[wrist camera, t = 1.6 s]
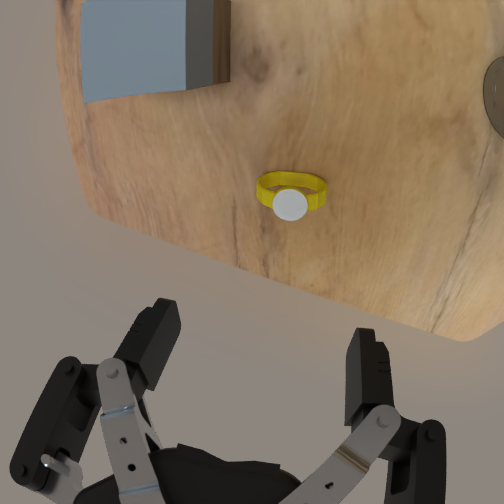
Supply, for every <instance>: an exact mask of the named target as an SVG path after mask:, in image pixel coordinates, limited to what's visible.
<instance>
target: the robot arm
mask: <svg viewBox="0 0 504 504" xmlns="http://www.w3.org/2000/svg"><path fill="white" fill-rule="evenodd" d="M484 100H485V106H486V110H487V114H488V116H489V118H490V121H491V123H492V125H493V126H494V128H495V129H496V131H497V132H498V133H499V134H500V135H501V136H502V137H503V138H504V57H501V58H498V59H497V60H495V61H494V62H493V63H492V64H491V66H490V67H489V69H488V71H487V74H486V76H485V82H484ZM180 330H181V321H180V317H179V312H178V308H177V304H176V301H174V300H169V299H164V298H158V299H157V301H156V302H155V304H154V306H153V307H152V308H151V307H147V308H145V309H144V310H143V311H142V312H141V313H139V314H138V316H137V318H136V320H135V321H134V324H132V326H131V328H130V331H128V333H127V334H126V336H125V338H124V340H123V342H122V343H121V345H120V347H119V348H118V350H117V352H116V353H115V355H114V356H113V358H110V359H106V360H104V361H103V362H102V363H100V364H99V365H94V364H81V362H80V361H79V360H78V359H77V358H76V357H72V356H69V357H65V358H63V359H62V360H60V362H59V363H58V364H57V366H56V368H55V369H54V371H53V373H52V375H51V377H50V379H49V380H48V382H47V384H46V386H45V388H44V390H43V392H42V394H41V396H40V398H39V400H38V402H37V404H36V406H35V408H34V410H33V412H32V414H31V416H30V418H29V420H28V422H27V424H26V427H25V429H24V431H23V433H22V436H21V438H20V440H19V443H18V445H17V447H16V450H15V452H14V455H13V457H12V460H11V462H10V474H11V476H12V478H13V480H14V481H15V482H16V483H18V484H19V485H22V486H24V487H26V488H28V489H30V490H32V491H34V492H36V493H39V494H42V495H44V496H45V497H47V498H49V499H50V500H52V501H53V502H55V503H57V504H339V503H340V502H341V501H342V500H343V499H344V498H345V497H346V496H347V495H348V493H350V491H351V490H352V489H353V488H354V487H355V486H356V485H357V484H358V483H359V482H360V480H361V479H362V478H363V477H364V476H365V475H366V473H367V472H368V470H369V467H370V466H371V464H372V463H373V462H374V461H375V459H376V458H377V457H378V458H382V459H385V460H388V461H389V462H388V473H387V483H386V492H385V500H384V504H445V492H446V432H445V429H444V427H443V425H442V424H441V423H440V422H439V421H436V420H432V419H431V420H427V421H424V422H423V423H422V424H421V423H418V422H415V421H411V420H408V419H406V418H404V417H402V416H401V415H400V414H399V413H398V411H397V410H396V409H395V406H394V400H393V387H392V379H391V378H392V377H391V368H390V358H389V352H388V350H387V348H386V346H385V344H384V343H383V342H376V341H375V340H376V339H375V332H374V330H373V329H368V328H356V330H355V333H354V335H353V337H352V340H351V342H350V345H349V347H348V350H347V354H346V396H345V424H344V425H345V426H352V427H351V434H350V435H349V437H348V438H347V439H346V440H345V441H344V442H343V443H342V444H341V445H340V446H339V447H338V448H337V450H335V452H334V453H333V454H332V455H331V456H330V457H329V458H328V459H327V460H326V461H325V462H324V463H323V464H322V465H321V466H320V467H318V468H317V469H316V470H315V471H314V472H313V473H312V474H311V475H310V476H309V477H308V478H307V479H306V480H304V481H303V482H302V483H301V482H300V481H299V480H298V479H297V478H296V477H295V476H293V475H292V474H290V473H288V472H286V471H284V470H281V469H280V464H273V463H265V462H259V461H243V462H227V461H224V460H221V459H219V458H217V457H215V456H213V455H211V454H209V453H207V452H205V451H204V450H201V449H197V448H193V447H190V446H186V445H183V444H179V443H178V445H177V448H165V449H163V447H162V445H161V443H160V440H159V438H158V436H157V434H156V432H155V430H154V427H153V424H152V422H151V419H150V415H149V412H148V409H147V406H146V403H145V399H144V396H143V394H144V392H145V390H146V389H148V390H151V391H154V389H155V387H156V385H157V383H158V380H159V378H160V376H161V374H162V371H163V369H164V367H165V365H166V362H167V360H168V358H169V356H170V354H171V351H172V349H173V347H174V345H175V343H176V340H177V338H178V336H179V333H180ZM101 406H102V409H103V414H102V415H101V416H100V421H101V426H102V431H103V435H104V439H105V443H106V447H107V451H108V455H109V459H110V462H111V465H112V469H113V472H114V474H113V475H111V476H109V477H107V478H105V479H103V480H101V481H99V482H97V483H95V484H93V485H91V486H89V487H87V488H85V489H83V487H82V479H83V475H82V469H81V467H80V465H79V464H78V463H79V460H80V458H81V455H82V452H83V450H84V447H85V444H86V442H87V440H88V437H89V434H90V432H91V429H92V427H93V425H94V422H95V420H96V417H97V415H98V412H99V410H100V408H101Z"/></svg>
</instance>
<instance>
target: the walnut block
mask: <svg viewBox="0 0 504 504" xmlns="http://www.w3.org/2000/svg"><path fill="white" fill-rule="evenodd" d="M230 18H231V1H230V0H214V11H213V85H214V84H219V83H225V82H230Z"/></svg>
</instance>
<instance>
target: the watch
mask: <svg viewBox="0 0 504 504" xmlns="http://www.w3.org/2000/svg"><path fill="white" fill-rule="evenodd" d="M278 185H286V186H284V187H282V188H280V189H279V190H277V191H276V192H274V191H271V190H268V189H267V188H269V187H273V186H278ZM295 186H297V187H295ZM298 187H307V188H309V189H312V190H314V191H316V192H317V193H313V194H305V193H304V192H303V191H302V190H301V189H299V188H298ZM326 193H327V183H326V182H324V181H323V180H322V179H321V178H320V177H317V176H315V175H312V174H310V173H298V172H286V171H275V172H270V173H266V174H265V175H263V176H261V177H259V178H258V181H257V199H258V200H259V201H260V202H261V203H262V204H264V205H265V206H268V207H270V208H273V211H274V212H275V214H276V215H277V216H278V217H279V218H281V219H283V220H287V221H295V220H298V219H300V218H301V217H303V216H304V214H305V213H306V211H312V210H315V209H318V208H319V207H321V206H322V205H324V204H325V201H326Z"/></svg>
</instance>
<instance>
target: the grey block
mask: <svg viewBox="0 0 504 504" xmlns="http://www.w3.org/2000/svg"><path fill="white" fill-rule="evenodd" d="M213 11H214V0H87V1H85V2H82V3H81V72H82V88H83V99H84V103H89V102H94V101H100V100H105V99H111V98H117V97H124V96H131V95H139V94H147V93H157V92H168V91H182V90H189V89H194V88H199V87H204V86H210V85H213Z"/></svg>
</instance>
